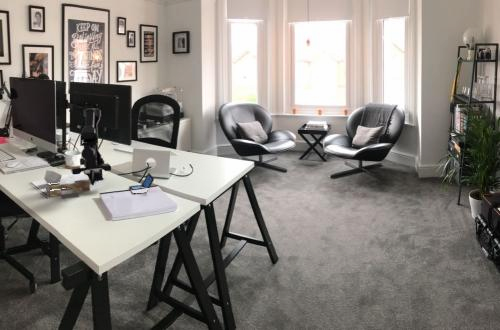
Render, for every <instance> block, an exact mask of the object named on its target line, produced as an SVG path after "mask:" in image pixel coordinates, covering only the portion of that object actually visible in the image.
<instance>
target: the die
mask: <svg viewBox="0 0 500 330" xmlns="http://www.w3.org/2000/svg"><path fill="white" fill-rule="evenodd" d="M62 176H63V175H62V174H61V172H60V171H59V170H58V168H54V169H52V168H51V169H47V170H45V175H44V179H43V180H44V181H45V182H46V183H47V184H48V183H50V184H51V183H58V182H61V179H62Z"/></svg>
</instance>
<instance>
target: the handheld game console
mask: <svg viewBox="0 0 500 330" xmlns="http://www.w3.org/2000/svg"><path fill="white" fill-rule="evenodd" d="M154 180H155V178H154V177H153V175H151V173H149V172H148V173H147V175H146V177H145V178H144V180H143V182H142V183H141V184H136V185H129V186H128V189H129V190H130V189H137V188H142V187H147V188H149V189H150V188H151V186H152V184H153V183H154Z"/></svg>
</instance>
